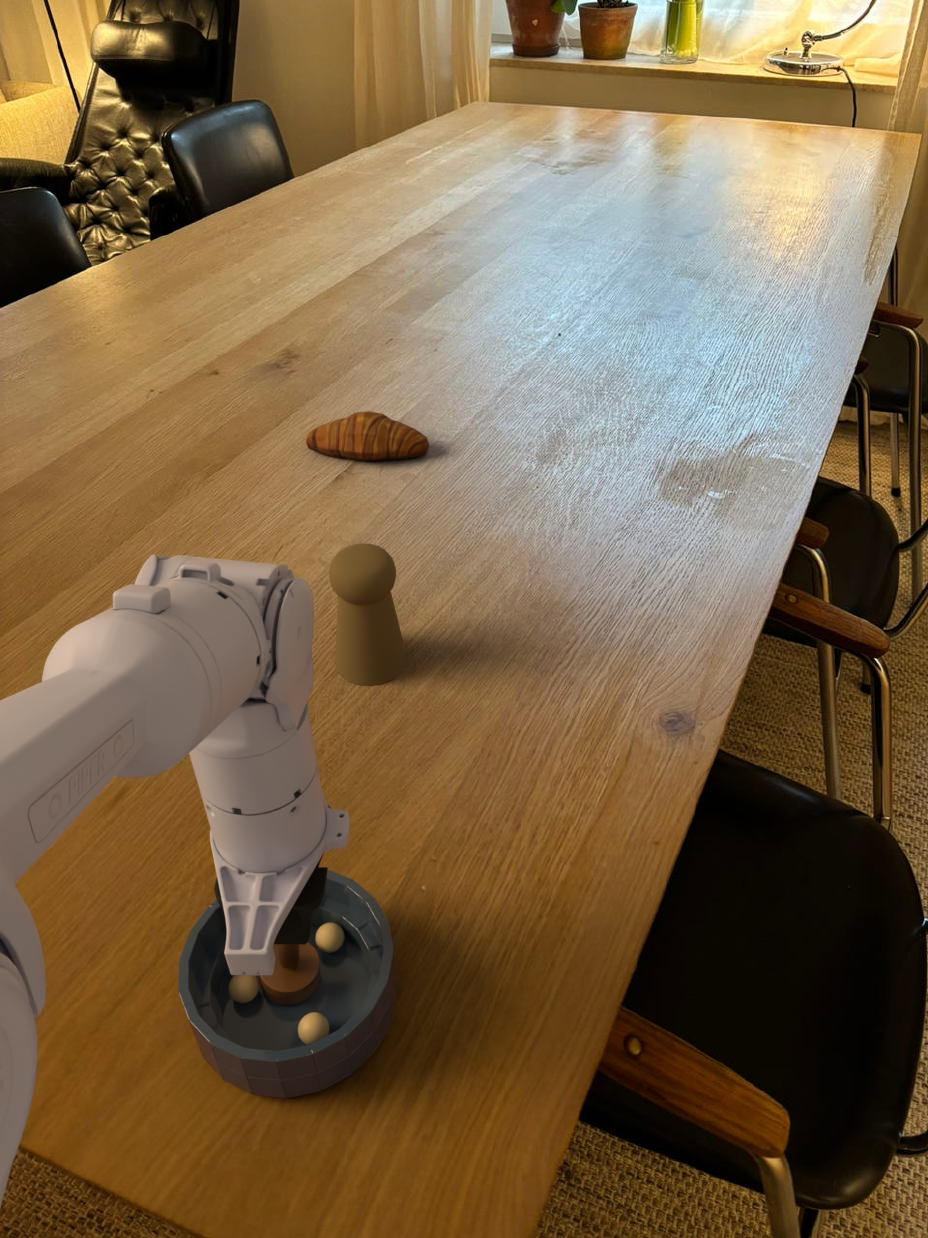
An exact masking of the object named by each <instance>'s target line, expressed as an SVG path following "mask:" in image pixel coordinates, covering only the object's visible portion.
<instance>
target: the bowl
mask: <svg viewBox="0 0 928 1238" xmlns="http://www.w3.org/2000/svg"><path fill="white" fill-rule="evenodd" d="M330 922H331V923H336V924H338V925H339V926H340V927H341V928H342V929H343V931H344V936H345V938H344V943H343V945H342V946H341V948H340V949H338V950H337V951H335V952H332V953H327V952H324V951H322V950H321V949H319V947H318V946H317V944H316V939H315V937H316V933H317V930H318V929H319V928H320V927H321V926H322V925H323V924H325V923H330ZM226 938H227V927H226V919H225V913H224V909H222V908H221V907H220V906H219V904H218V902H217V899H215V900H214V901H212V902H211V903H210V904H209V905H208V906H207V907H206V908H205V910H204V911H203V913H202V914H201V915H200V916H199V918H198V919H197V920H196V922H195V923H194V925H193V926H192V927H191V929H190V930H189V932H188V935H187V937H186V940H185V943H184V946H183V948H182V951H181V954H180V957H179V959H178V970H177V971H178V972H177V973H178V976H177V977H178V979H177V982H178V984H177V985H178V986H177V992H178V996H179V998H180V1001H181V1004H182V1006H183V1008H184V1012H185V1014H186V1017H187V1020H188V1022H189V1025H190V1027H191V1030H192V1033H193V1036H194V1038H195V1041H196V1043H197V1047H198V1048H199V1050H200V1053H201V1056H202V1058H203V1059H204V1060H205V1062H206V1063H207V1064H208V1065H209V1066H210V1067H211V1068H212V1069H213V1070H214V1071H215V1073H216V1074H217V1075H218V1076H219V1077H220V1078H221V1080H223V1081H224V1082H226V1083H228V1084H230V1085H232V1086H234V1087H236V1088H239V1089H240V1090H242V1091H244V1092H246V1093H249V1094H251V1095H255V1096H265V1097H273V1098H282V1099H290V1098H295V1097H300V1096H304V1095H310V1094H314V1093H319V1092H321V1091H325V1090H326V1089H328V1088H329V1087H332V1086H333V1085H335V1084H337V1083H339V1082H341V1081H342V1080H345V1079H346V1078H348V1077H349V1076H352V1075H353V1074H354V1073H355V1072H356V1071H357V1070H358V1069H359V1068H360V1067H361V1066H362V1065H363V1064H364V1063H365V1062H366V1061H367V1060H368V1059H369V1058H370V1057H371V1056H372V1055H373V1054H374V1053H375V1052H376V1051H377V1049H378V1048H379V1046H380V1044H381V1042H382V1041H383V1038H384V1037H385V1035H386V1033H387V1031H388V1029H389V1028H390V1025H391V1023H392V1022H393V1019H394V1014H395V1010H396V1009H395V1008H396V1003H397V997H398V992H399V991H398V990H399V985H398V977H397V970H396V969H397V968H396V959H395V950H394V944H393V937H392V931H391V925H390V923H389V919H388V918H387V916H386V914H385V913H384V911H383V909H382V908H381V906H380V904H379V903H378V901H377V899H376V897H374V896H373V895H372V894H371V893H370V892H369V891H367V890H366V889H365V888H364V887H363V886H362V885H360V884H359V883H358V882H356V881H355V880H354V879H352V878H350V877H348V876H345V875H344V874H343V875H342V874H340V873H337V872H335V871H332V870H330V869H328V870H327V878H326V886H325V892H324V896H323V899H322V902H321V904H320V906H319V907H318V908H317V909H315V910H314V911H313V913H312V923H311V931H310V937H309V940H308V943H310V944H311V945H312V946H313V947H314V948H315V949H316V951H317V953H318V956H319V960H320V978H319V984H318V986H317V988H316V990H315V992H314V993H313V994H312V995H311V996H310V997H309V998H308V999H306V1000H305V1001H303V1002H301V1003H299V1004H295V1005H280V1004H277V1003H274V1002H272V1001H271V1000H269V999H268V998H267V997H266V996H265V994H264V993H263V991H262V989H261V986H260V977H259V976H256V977H257V979H258V981H259V991H258V994H257V995H256V997H255V998H254V999H253V1000H251V1001H250V1002H247V1003H238V1002H236V1001H234V1000H233V999H232V998H231V996H230V994H229V983H230V980H231V979H232V977H233V976H234V975H231V973H230V970H229V967H228V963H227V960H226V957H225V954H224V952H225V945H226ZM312 1012H317V1013H320V1014H322V1015H324V1016H325V1017H326V1019H327V1020H328V1023H329V1034H328V1035H327V1036H326V1037H324V1038H322V1039H320V1040H318V1041H316V1042H314V1043H312V1044H310V1045H307V1044H305V1043H303V1042H302V1040H301V1039H300V1037H299V1034H298V1026H299V1023H300V1021H301V1019H302V1018H303V1017H304V1016H305V1015H307V1014H309V1013H312Z"/></svg>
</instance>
